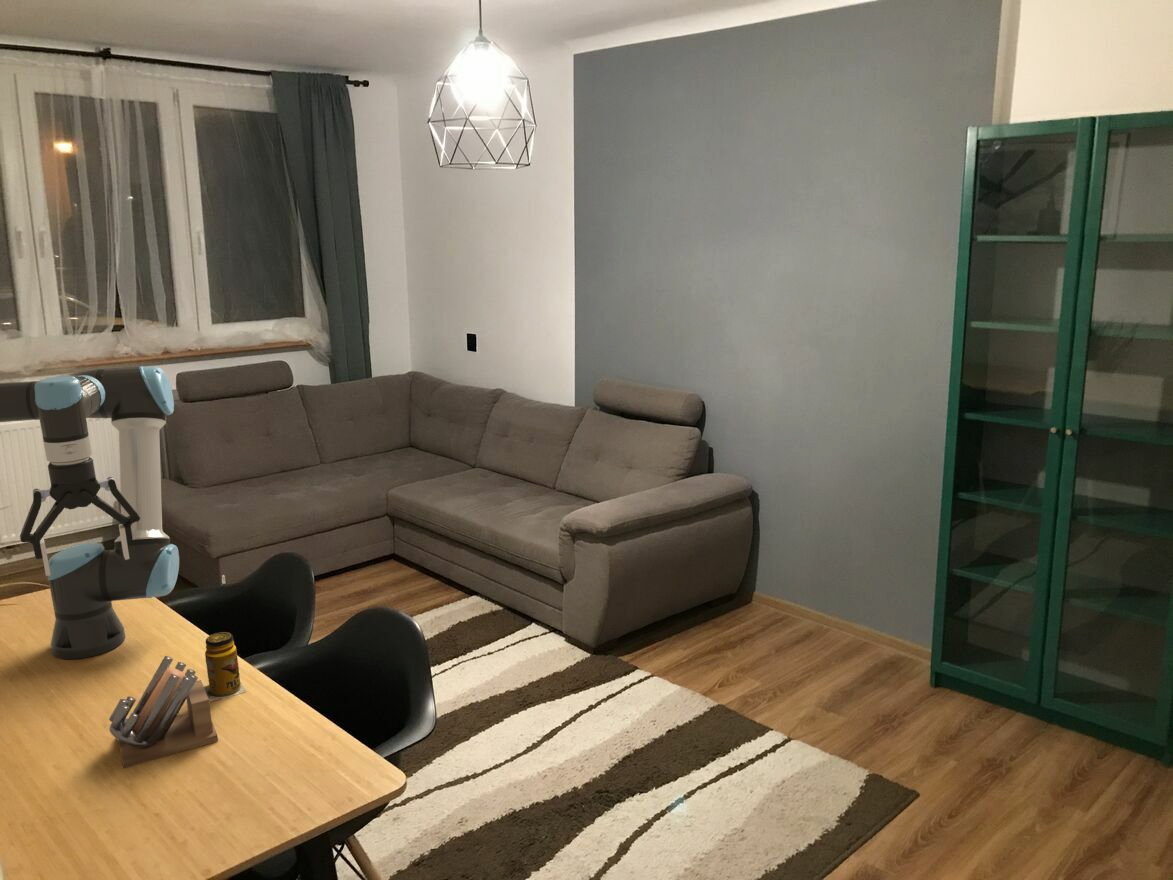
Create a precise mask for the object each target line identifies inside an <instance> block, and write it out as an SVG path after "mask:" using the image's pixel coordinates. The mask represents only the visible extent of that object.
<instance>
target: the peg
mask: <svg viewBox="0 0 1173 880" xmlns="http://www.w3.org/2000/svg"><path fill="white" fill-rule="evenodd" d="M171 674H175V675H177V676H179V680H178V682H177V683H176V685H175V687H174V689H173V690H172V692H171V694H170V696H169V697H168V699H167V701H166V703H165V704H164V706H163V708H162V710H161V711H160V713H159V715H158V717H157V718H156V720H155V722H154V724H153V725H152V727H151V729H150V731H149V732H148V734H147V736H150V735H151V733H152V732H153V730H154V728H155V726H156V725H157V723H158V721H159V719H160V717H161V716H162V714H163V712H164V710H165V709H166V707H167V705H168V703H169V702H170V700H171V698H172V696H173V695H174V693H175V691H176V689H177V688H178V686H179V684H180V682H181V681H182V679H183V677H184V676H185V677H187V676H186V674H185V673H184V671H183V672H182V671H180V670H178V669H175V667H168V668H167V669H166V671H165V673H164V674H163V676H162V678H161V679H160V681H159V683H158V684H157V686H156V688H155V689H154V691H153V692H152V694H151V696H150V697H149V699H148V701H147V702H146V704H145V706H144V707H143V709H142V711H141V712H140V714H139V715H140V718H139V719H138V721H137V723H136V725H135V726H134V728H133V729H134V730H135V731H136V732H137V733H138V732H139V730H140V728H141V726H142V725H143V723H144V721H145V719H146V718H147V716H148V714H149V712H150V711H151V709H152V707H153V705H154V704H155V702H156V700H157V698H158V697H159V695H160V693H161V691H162V690H163V688H164V686H165V684H166V683H167V681H168V679H169V677H170V676H171Z"/></svg>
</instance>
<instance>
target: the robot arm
mask: <svg viewBox="0 0 1173 880" xmlns="http://www.w3.org/2000/svg"><path fill="white" fill-rule="evenodd" d="M174 408H175V402H174V395H173V391H172V387H171V383H170V380H169V378H168V376H167V374H166V373H165V371H164V370H163V369H162V368H160V367H158V366H142V365H140V366H133V367H132V366H129V367H127V366H126V367H116V368H94V369H87V370H82V371H76V372H73V373H68V374H60V375H57V376H52V377H47V378H43V379H40V380H31V381H13V382H11V381H10V382H0V423H5V422H6V423H7V422H9V423H10V422H20V421H39V424H40V425H39V426H40V430H41V434H42V442H43V447H44V453H45V457H46V461H47V462H49V463H48V465H47V470H48V471H47V472H48V476H49V481H50V488H49V489H39V488H34V489H33V490H32V502H31V506H30V508H29V511H28V513H27V516H26V519H25V521H24V524H23V527H22V529H21V532H20V535H19V539H20V541H21V543H31V544H32V547H33V552H34V553H33V554H34V557H35V559H36V560H40V559H42V561H43V562H42V563H43V566H44V572H45V577H47V580H48V584H49V589H50V595H51V601H52V602H51V603H52V606H53V612H54V618H55V619H54V626H53V630H52V635H51V639H50V648H51V653H52V655H53V656H54V657H56V658H58V659H62V660H63V659H66V660H75V659H76V660H77V659H85V658H90V657H94V656H99V655H102V654H104V653H108V652H110V651H112V650H114V649H116V648H117V647H119V646H120V645H122V644H123V642H125V639H126V632H125V627H124V626H123V623H122V621H121V620H120V618H119V616H118V615H117V614H116V611H115V609H114V608H113V603H112V602H117V601H118V602H119V601H128V600H139V599H140V600H141V599H152V598H157V597H164V596H167V595H169V594H170V593H171V592H172V591H173V590H174V588H175V585H176V583H177V579H178V575H179V570H180V569H179V568H180V554H179V549H178V547H177V545H175V544H173V543H171V538H170V536H169V535H168V534H166V533H165V532H164V529H163V513H162V510H163V508H162V507H163V506H162V502H163V501H162V476H161V475H162V473H161V469H162V468H161V446H160V445H161V442H160V440H161V439H160V438H161V437H160V431H161V429H162V428H163V427H164V426H165V425H166V424H167V419H166V418H167V416H170V415H172V414H173V413H174V411H175V409H174ZM87 419H111V420H110V422H111V426H113V427H114V429H116V430H117V431H118V443H119V444H118V447H119V448H118V449H119V451H118V453H119V481H120V482H119V483H120V484H119V485H120V490H119V489H118V487H117V483H116V481H115V479H114V477H113V476H109V477H107V478H106V479H104V480H99V481H98V480H97V477H96V470H95V465H94V459H93V458H92V457H91V456H92V454H93V453H92V452H93V451H92V446H91V440H90V435H89V427H88V422H87ZM101 488H103V489H104V490H105V491H106V492H109V491H110V493H111V495H112V496H113V497H114V498H115V499H116V500H117V502H118V503H119V504H120V511H119V510H117V509H116V508H114V507H113V506H112V505H110V504H109V503H108V502H106V500H104V499H102V498H101V496H99V495H98V492H100V490H101ZM48 497H50V498H52V499H53V500H54V503H53V504H52V507H51V508H50V509H49V511H48V513H47V514H46V515H45V517H44V518H43V520H42V521H41V522H40V524H39V525H38V527H37V528H36V529H35V531H34V532H33V533H32V530H33V527H34V525H35V523H36V521H37V520H36V519H37V517H38V515H39V512H40V509H41V507H42V503H44V502H45V501H46V500H47V498H48ZM91 504H93V505H94V506H95V507H96V508H98V509H100V510H101V511H103V512H104V513H105V514H107V515H109V516H110V517H111V518H113V519H114V520H116V521H117V522H118V523H120V524H118V528H119V536H118V537H117V538H116V539H115V540H114V545H113V547H114V549H108V550H107V549H106V550H105V546H103V544H102V543H100V542H87V543H82V544H78V545H74V546H71V547H67V548H65V549H62V550H61V551H58V552H57V553H55V554H53V555H52V556H51V557H50V558H49V559H48V553H47V548H46V543H45V538H43V537H44V536H45V535H46V533H47V532H48V531H49V529H50V528H51V526H52V525H53V524H54V522H55V521H56V519H57V518H58V516H59V515H60V514H61V513H62V512H63V510H64V509H67V510H74V509H77V508H86V507H87V508H88V506H89V505H91Z"/></svg>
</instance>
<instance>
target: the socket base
mask: <svg viewBox="0 0 1173 880" xmlns="http://www.w3.org/2000/svg"><path fill="white" fill-rule="evenodd" d="M204 686H205V685H204V684H203V682H202V680H201V679H199V680H197V681H196V683H195V684H194V686H193V688H192V690H191V691H190V693H189V695H188V697H187V698H186V700H185V701H186V708H187V712H184V713H181V714H177V716H176V718H175V720H174V721H173V723H172V725H171V727H170V728H169V730H168V732H167V734H166V735H165V737H164V739H163V740H161V741H157V743H156V744H155V745H152V746H150V747H149V748H147V749H145V748H137V747H134V746H131V745H128V744H126V743H123V742H122V741H120V740H118V739H117V740H118V746H119V752H120V756H121V762H122V766H123V769H124V768H128V767H131V766H135V765H138V764H139V765H140V764H141V763H146V762H150V761H153V760H157V759H160V758H163V757H166V756H170V755H174V754H177V753H180V752H184V751H188V750H191V749H194V748H198V747H203V746H205V745H206V746H207V745H208V744H213V743H216V742H219V738H218V734H217V733H218V732H217V730H216V729H215V725H214V723H213V720H212V714H211V706H210V705H211V704H210V702H209V699H208V696H207V694H206V691H205V689H204Z"/></svg>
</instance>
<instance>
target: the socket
mask: <svg viewBox="0 0 1173 880" xmlns="http://www.w3.org/2000/svg"><path fill="white" fill-rule="evenodd" d="M173 660H174V659H173V658H172V657H171V656H168V655H164V657H163V659H162V660H161V662H160V664H159V666H158V667H157V669H156V671H155V673H154V674H153V676H152V678H151V680H150V681H149V684H148V685H147V686H146V688H145V690H144V692H143V694H142V696H141V697H140V699H139V701H138V703H137V704H136V706H135V707H134V709H133V711H132V712H131V713H130V711H131V709H132V708H133V706H134V705H135V703H136V701H137V699H136V698H134V697H133V696H126V698H125V699H124V698H120V699H119V701H118V702H117V705H116V706H115V708H114V709H113V711H112V713H111V715H110V716H109V719H108V720H109V722H111V723H110V725H109V732H110V734H112V736H113V737H114V738H115V739H117V740H120V741H122V742H123V743H126V744H128V745H131V746H134V747H137V748H145V749H147V748H149V747H150V746H152V745H155V744H156V743H157V741H161V740H163V739H164V737H165V735H166V734H167V732H168V730H169V728H170V727H171V725H172V723H173V721H174V720H175V718H176V716H177V715H179V712H180V710H181V709H182V707H183V705H184V703H185V702H186V701H187V700H186V698H187V697H188V695H189V693H190V691H191V690H192V688H193V686H194V684H195V683H196V681H198V679H199V677H198V676H197V675H195V674H196V673H197V672H196V671H195V670H194V669H192V668H187V669H186V671H185V668H186V667H187V664H186V663H184V662H183V661H177V664H176V665H175V667H174V668H175V669H178V670H180V671H182V672H183V673H184V671H185V673H184V674H186V676H187V677H185V676H184V677H183V679H182V681H181V682H180V684H179V686H178V688H177V689H176V691H175V693H174V695H173V696H172V698H171V700H170V702H169V703H168V705H167V707H166V709H165V710H164V712H163V714H162V716H161V717H160V719H159V721H158V723H157V725H156V726H155V728H154V730H153V732H152V733H151V735H150V736H147V734H148V732H149V731H150V729H151V727H152V725H153V724H154V722H155V720H156V718H157V717H158V715H159V713H160V711H161V710H162V708H163V706H164V704H165V703H166V701H167V699H168V697H169V696H170V694H171V692H172V690H173V689H174V687H175V685H176V683H177V682H178V680H179V676H177V675H175V674H171V676H170V677H169V679H168V681H167V683H166V684H165V686H164V688H163V690H162V691H161V693H160V695H159V697H158V698H157V700H156V702H155V704H154V705H153V707H152V709H151V711H150V712H149V714H148V716H147V718H146V719H145V721H144V723H143V725H142V726H141V728H140V730H139V732H138V733H137V732H136V731H135V730H134V729H133V728H134V726H135V725H136V723H137V721H138V719H139V718H140V715H139V714H140V712H141V711H142V709H143V707H144V706H145V704H146V702H147V701H148V699H149V697H150V696H151V694H152V692H153V691H154V689H155V688H156V686H157V684H158V683H159V681H160V679H161V678H162V676H163V674H164V673H165V671H166V669H167V668H170V666H171V665H172V662H173ZM129 713H130V715H129ZM128 715H129V717H128Z"/></svg>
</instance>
